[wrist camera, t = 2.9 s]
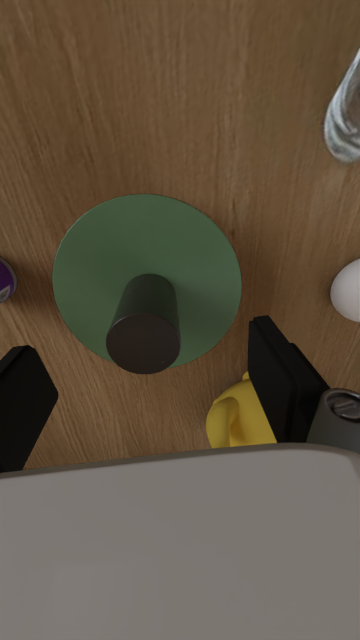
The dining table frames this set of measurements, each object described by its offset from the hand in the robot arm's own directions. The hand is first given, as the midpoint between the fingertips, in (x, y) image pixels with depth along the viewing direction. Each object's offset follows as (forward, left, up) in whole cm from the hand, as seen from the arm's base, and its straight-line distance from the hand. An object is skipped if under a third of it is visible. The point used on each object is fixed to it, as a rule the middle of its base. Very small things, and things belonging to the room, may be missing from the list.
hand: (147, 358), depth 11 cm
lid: (0, 0, -7) cm, 7 cm away
